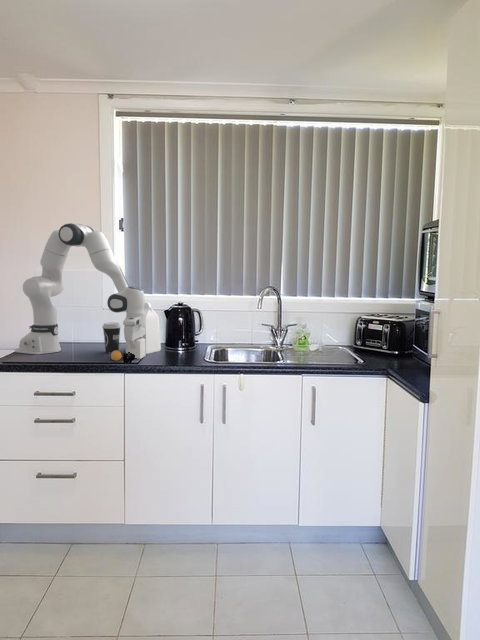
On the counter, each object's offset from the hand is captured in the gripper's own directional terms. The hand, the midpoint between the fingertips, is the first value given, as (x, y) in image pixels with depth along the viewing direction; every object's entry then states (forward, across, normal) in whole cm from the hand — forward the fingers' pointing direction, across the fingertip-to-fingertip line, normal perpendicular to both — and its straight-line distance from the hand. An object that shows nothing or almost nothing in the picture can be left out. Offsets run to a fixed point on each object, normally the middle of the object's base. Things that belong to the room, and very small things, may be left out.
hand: (136, 347), depth 228 cm
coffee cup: (+5, -10, -17) cm, 21 cm away
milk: (+5, -16, -1) cm, 17 cm away
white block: (+5, 0, 0) cm, 5 cm away
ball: (+2, +10, -6) cm, 12 cm away
